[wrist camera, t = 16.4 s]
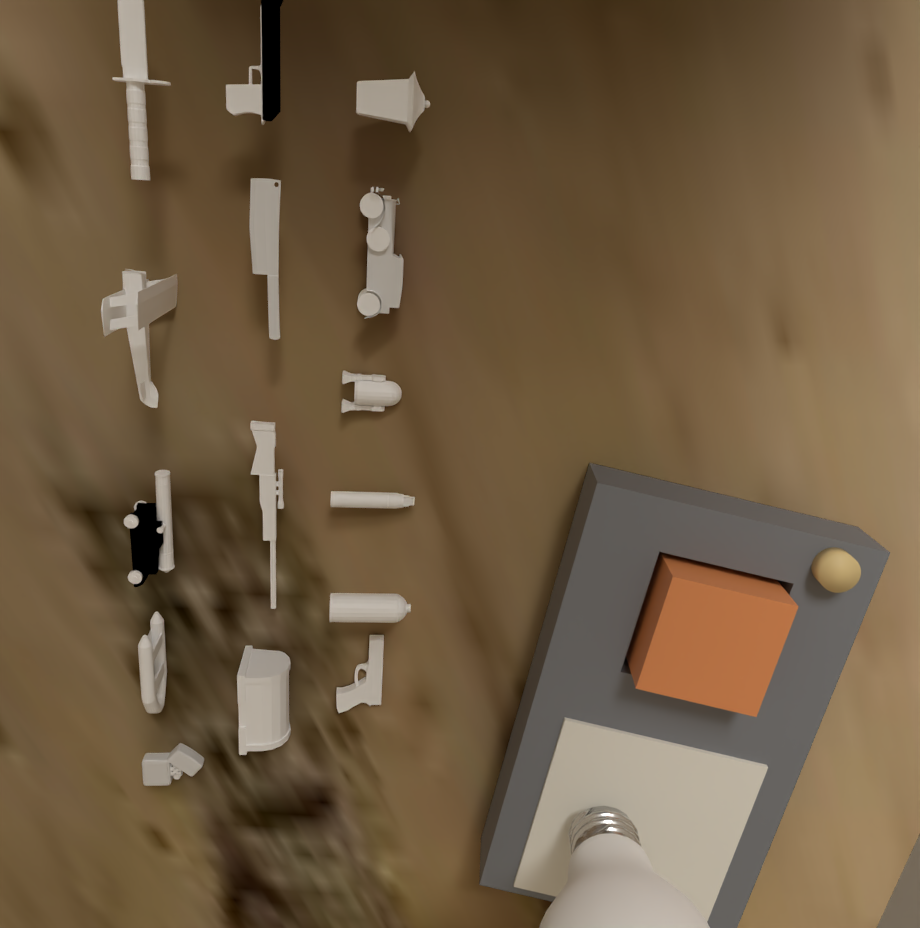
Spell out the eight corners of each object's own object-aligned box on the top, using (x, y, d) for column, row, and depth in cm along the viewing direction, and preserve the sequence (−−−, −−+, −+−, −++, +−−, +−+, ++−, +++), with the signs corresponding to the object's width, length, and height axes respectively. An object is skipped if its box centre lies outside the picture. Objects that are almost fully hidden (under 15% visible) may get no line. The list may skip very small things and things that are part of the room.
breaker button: (653, 539, 35) (673, 576, 31) (765, 566, 35) (798, 606, 31) (621, 641, 36) (635, 688, 32) (729, 666, 36) (756, 716, 32)
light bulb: (504, 781, 35) (506, 1011, 25) (650, 737, 34) (716, 956, 24) (554, 898, 37) (576, 1162, 26) (695, 860, 36) (776, 1117, 25)
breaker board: (589, 462, 35) (599, 488, 31) (858, 527, 35) (899, 560, 31) (481, 838, 40) (478, 898, 36) (714, 892, 40) (735, 957, 37)
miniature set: (110, -41, 30) (436, -9, 31) (160, 740, 41) (398, 738, 43) (43, -97, 24) (451, -53, 25) (124, 836, 35) (402, 830, 37)
